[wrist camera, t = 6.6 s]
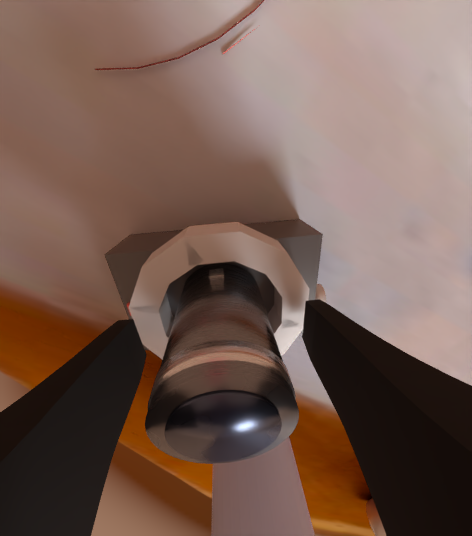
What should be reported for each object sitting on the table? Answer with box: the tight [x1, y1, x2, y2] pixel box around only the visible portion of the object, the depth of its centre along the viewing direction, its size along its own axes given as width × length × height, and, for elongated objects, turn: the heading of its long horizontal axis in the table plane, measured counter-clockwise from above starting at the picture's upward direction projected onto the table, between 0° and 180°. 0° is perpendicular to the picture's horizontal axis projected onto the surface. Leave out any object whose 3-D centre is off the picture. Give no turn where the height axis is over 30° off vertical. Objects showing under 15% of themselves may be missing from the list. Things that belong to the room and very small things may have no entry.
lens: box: [145, 263, 299, 464], centre depth 8 cm, size 4×4×6 cm
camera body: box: [105, 219, 326, 360], centre depth 12 cm, size 8×11×4 cm
